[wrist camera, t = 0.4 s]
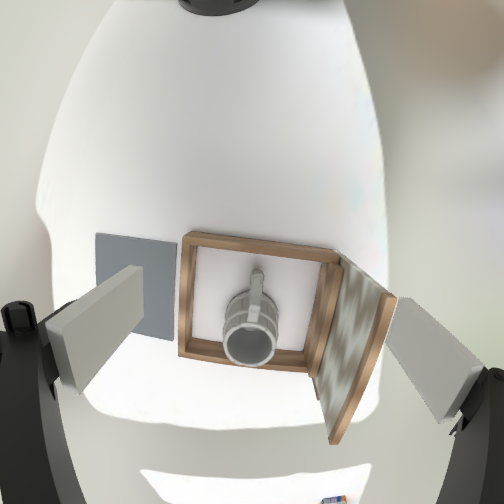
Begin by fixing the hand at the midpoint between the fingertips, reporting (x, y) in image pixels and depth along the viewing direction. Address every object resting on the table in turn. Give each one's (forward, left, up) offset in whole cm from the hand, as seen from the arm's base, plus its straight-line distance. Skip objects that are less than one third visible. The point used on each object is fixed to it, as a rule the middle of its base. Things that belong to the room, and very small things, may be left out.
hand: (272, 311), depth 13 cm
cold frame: (+10, 0, -26) cm, 28 cm away
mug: (+10, 0, -26) cm, 28 cm away
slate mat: (+11, -19, -26) cm, 34 cm away
